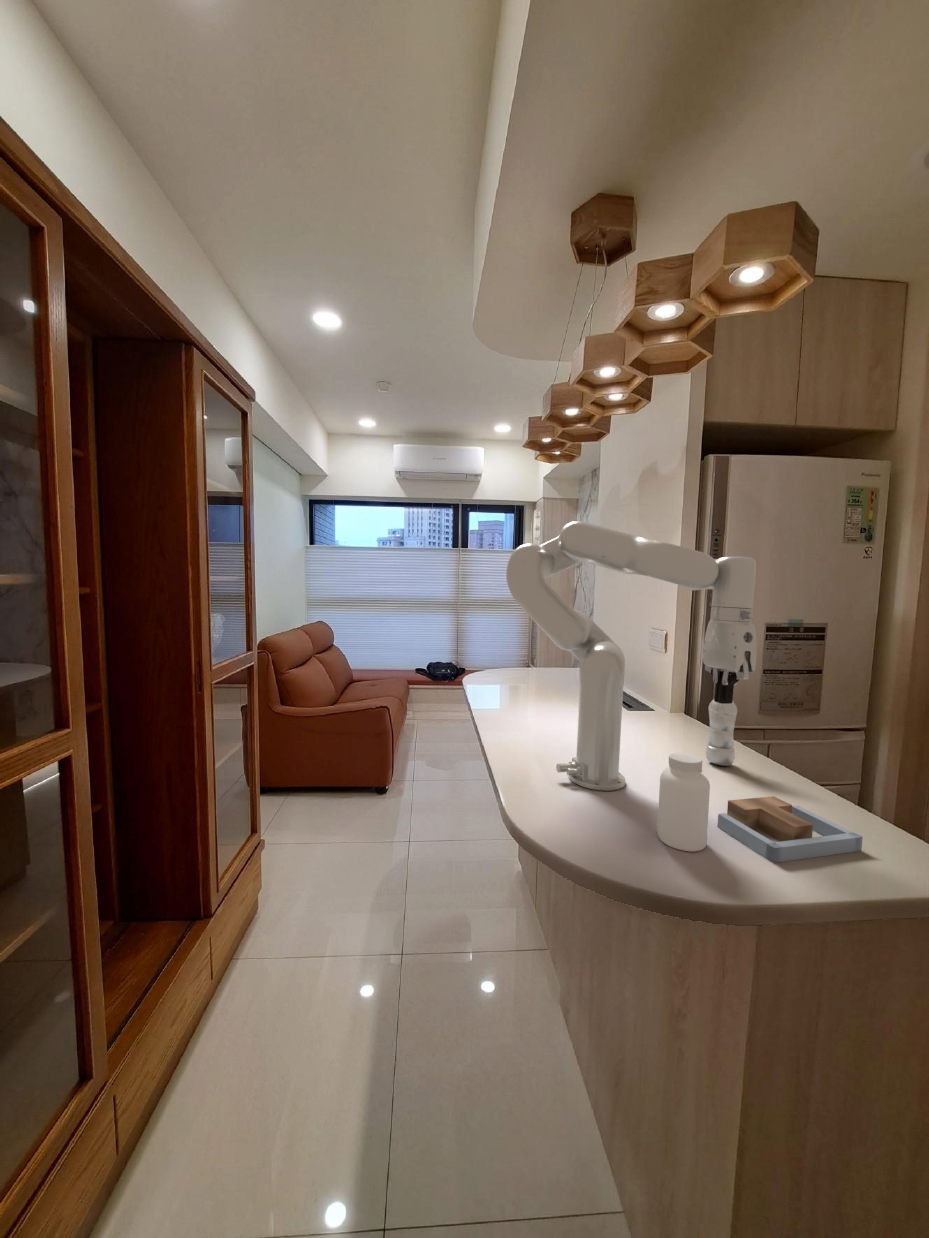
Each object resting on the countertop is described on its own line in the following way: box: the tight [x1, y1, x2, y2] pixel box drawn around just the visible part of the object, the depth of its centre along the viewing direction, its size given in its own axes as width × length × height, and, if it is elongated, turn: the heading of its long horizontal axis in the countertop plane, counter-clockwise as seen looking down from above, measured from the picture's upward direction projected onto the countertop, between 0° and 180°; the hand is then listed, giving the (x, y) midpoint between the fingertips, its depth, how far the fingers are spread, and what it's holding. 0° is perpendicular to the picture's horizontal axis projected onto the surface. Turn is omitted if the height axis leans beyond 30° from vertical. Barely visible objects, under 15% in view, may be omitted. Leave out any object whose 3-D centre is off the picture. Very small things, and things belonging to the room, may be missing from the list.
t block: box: [726, 795, 814, 842], centre depth 87 cm, size 11×11×4 cm
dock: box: [716, 805, 863, 864], centre depth 85 cm, size 19×12×2 cm, turn 104°
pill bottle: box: [657, 752, 711, 852], centre depth 83 cm, size 8×8×15 cm
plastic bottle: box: [705, 698, 738, 767], centre depth 122 cm, size 6×7×20 cm
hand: (723, 702), depth 99 cm, fingers closed
